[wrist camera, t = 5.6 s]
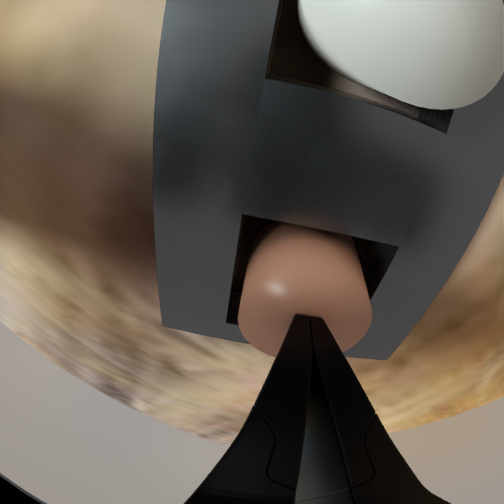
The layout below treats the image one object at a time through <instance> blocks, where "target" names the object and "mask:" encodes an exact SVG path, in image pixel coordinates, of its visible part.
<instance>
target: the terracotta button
mask: <svg viewBox="0 0 504 504" xmlns="http://www.w3.org/2000/svg"><path fill="white" fill-rule="evenodd" d="M295 314H303V315H307V316H308V317H309V316H317V317H321V318H323V319H324V321H325V323H326V324H327V326H328V328H329V330H330V331H331V333H332V335H333V336H334V338H335V340H336V342H337V343H338V345H339V347H340V349H341V351H342V352H344V351H346V350H348V349H349V348H351V347H353V346H354V345H355V344H356V343H358V342H359V341H360V340H361V339H362V338H363V337H364V335H365V334H366V333H367V331H368V329H369V327H370V325H371V321H372V308H371V304H370V300H369V296H368V292H367V288H366V284H365V280H364V276H363V272H362V268H361V264H360V261H359V257H358V254H357V250H356V247H355V243H354V241H353V239H352V237H351V236H349V235H345V234H340V233H335V232H331V231H326V230H321V229H316V228H311V227H306V226H302V225H297V224H291V223H286V222H281V221H273V222H272V223H270V224H269V225H267V226H266V227H265V228H264V229H262V230H261V231H260V232H259V234H258V235H257V236H256V238H255V239H254V241H253V243H252V245H251V249H250V253H249V258H248V264H247V269H246V275H245V280H244V285H243V291H242V296H241V302H240V307H239V313H238V325H239V328H240V331H241V333H242V335H243V336H244V338H245V339H246V340H247V341H248V342H249V343H250V344H251V345H252V346H254V347H255V348H256V349H258V350H260V351H262V352H264V353H266V354H268V355H271V356H274V357H276V356H277V354H278V352H279V349H280V347H281V345H282V342H283V340H284V338H285V336H286V333H287V331H288V329H289V326H290V324H291V322H292V319H293V317H294V315H295Z"/></svg>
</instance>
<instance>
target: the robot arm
mask: <svg viewBox="0 0 504 504" xmlns="http://www.w3.org/2000/svg"><path fill="white" fill-rule="evenodd" d="M0 504H46V503H45V502H43V501H41V500H40V499H38V498H36V497H35V496H33V495H32V494H30V493H28V492H27V491H25V490H24V489H22V488H21V487H19V486H18V485H16V484H15V483H13V482H12V481H11V480H9V479H8V478H6V477H5V476H4V475H2V474H1V473H0ZM184 504H451V503H449V502H447V501H445V500H443V499H441V498H440V497H438V496H436V495H434V494H432V493H431V492H430V491H428V490H427V489H426V488H425V487H424V486H423V485H422V484H421V482H420V481H419V480H418V478H417V477H416V476H415V474H414V473H413V471H412V470H411V468H410V467H409V465H408V464H407V462H406V461H405V460H404V458H403V457H402V455H401V454H400V452H399V451H398V449H397V448H396V446H395V445H394V443H393V442H392V440H391V438H390V437H389V435H388V433H387V432H386V430H385V428H384V426H383V425H382V423H381V421H380V419H379V417H378V415H377V414H375V410H374V408H373V406H372V404H371V403H370V401H369V399H368V397H367V395H366V393H365V392H364V390H363V388H362V386H361V384H360V383H359V381H358V379H357V377H356V375H355V374H354V372H353V370H352V368H351V366H350V365H349V363H348V361H347V359H346V358H345V356H344V354H343V352H342V351H341V349H340V347H339V345H338V343H337V342H336V340H335V338H334V336H333V335H332V333H331V331H330V330H329V328H328V326H327V324H326V323H325V321H324V319H323V318H321V317H317V316H309V317H308V316H307V315H303V314H295V315H294V317H293V319H292V322H291V324H290V326H289V329H288V331H287V333H286V336H285V338H284V340H283V342H282V345H281V347H280V349H279V352H278V354H277V356H276V358H275V361H274V363H273V365H272V367H271V369H270V372H269V374H268V376H267V378H266V380H265V382H264V385H263V387H262V389H261V391H260V393H259V395H258V397H257V399H256V401H255V404H254V406H253V407H252V409H251V411H250V413H249V415H248V418H247V419H246V421H245V423H244V425H243V427H242V428H241V430H240V432H239V434H238V435H237V437H236V438H235V440H234V441H233V443H232V444H231V445H230V447H229V449H228V450H227V451H226V453H225V454H224V455H223V457H222V458H221V459H220V460H219V462H218V463H217V464H216V466H215V467H214V468H213V469H212V471H211V472H210V473H209V474H208V476H207V477H206V478H205V480H204V481H203V482H202V483H201V484H200V486H199V487H198V488H197V489H196V490H195V491H194V493H193V494H192V495H191V496H190V497H189V498H188V500H187V501H186V502H185V503H184Z"/></svg>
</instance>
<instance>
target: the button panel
mask: <svg viewBox="0 0 504 504" xmlns="http://www.w3.org/2000/svg"><path fill="white" fill-rule="evenodd" d="M502 2H503V4H504V0H502ZM282 3H283V0H166V6H165V13H164V19H163V26H162V34H161V41H160V50H159V59H158V69H157V81H156V94H155V111H154V135H153V210H154V234H155V252H156V266H157V278H158V289H159V299H160V309H161V317H162V326H165V327H169V328H173V329H178V330H182V331H187V332H191V333H196V334H200V335H205V336H210V337H215V338H220V339H225V340H231V341H236V342H242V343H247V344H250V343H249V342H248V341H247V340H246V339H245V338H244V336H243V335H242V333H241V331H240V328H239V325H238V313H239V307H240V302H241V296H242V291H243V289H242V288H236V287H234V281H235V274H236V268H237V262H238V255H239V249H240V243H241V237H242V230H243V224H244V218H245V215H250V216H255V217H260V218H266V219H271V220H276V221H281V222H286V223H291V224H297V225H302V226H306V227H311V228H316V229H321V230H326V231H331V232H335V233H340V234H345V235H349V236H354V237H359V238H363V239H368V240H372V241H371V243H370V245H369V247H368V250H367V252H366V254H365V256H364V258H363V261H362V263H361V268H362V272H363V276H364V280H365V284H366V288H367V292H368V296H369V300H370V304H371V308H372V321H371V325H370V327H369V329H368V331H367V333H366V334H365V335H364V337H363V338H362V339H361V340H360V341H359V342H358V343H356V344H355V345H354V346H353V347H351V348H349V349H348V350H346V351H344V352H343V354H344V356H345V357H353V358H365V359H378V360H387V359H388V358H389V357H390V356H391V355H392V353H393V352H394V351H395V350H396V349H397V347H398V346H399V345H400V344H401V343H402V341H403V340H404V339H405V338H406V336H407V335H408V334H409V333H410V331H411V330H412V329H413V327H414V326H415V325H416V324H417V322H418V321H419V320H420V318H421V317H422V316H423V314H424V313H425V311H426V310H427V309H428V307H429V306H430V305H431V303H432V302H433V300H434V299H435V297H436V296H437V295H438V293H439V292H440V290H441V289H442V287H443V286H444V284H445V283H446V281H447V280H448V278H449V276H450V275H451V273H452V272H453V270H454V269H455V267H456V265H457V264H458V262H459V260H460V259H461V257H462V255H463V254H464V252H465V250H466V248H467V247H468V245H469V243H470V241H471V240H472V238H473V236H474V234H475V232H476V230H477V229H478V227H479V225H480V223H481V221H482V219H483V217H484V215H485V213H486V211H487V209H488V207H489V205H490V203H491V200H492V198H493V196H494V194H495V192H496V189H497V187H498V185H499V183H500V180H501V178H502V175H503V173H504V72H503V75H502V76H501V78H500V80H499V81H498V83H497V84H496V85H495V87H494V88H493V89H492V90H491V91H490V92H489V93H488V94H487V95H485V96H484V97H483V98H481V99H480V100H478V101H476V102H475V103H472V104H470V105H467V106H465V107H460V108H455V109H444V110H440V109H428V108H423V107H421V108H420V111H419V115H418V117H416V116H413V115H411V114H408V113H406V112H403V111H401V110H398V109H395V108H393V107H390V106H387V105H384V104H381V103H378V102H375V101H372V100H369V99H366V98H363V97H360V96H357V95H353V94H350V93H346V92H343V91H339V90H336V89H332V88H328V87H324V86H320V85H316V84H312V83H307V82H303V81H298V80H293V79H288V78H283V77H278V76H272V75H269V73H270V67H271V62H272V56H273V51H274V45H275V40H276V35H277V29H278V24H279V19H280V14H281V8H282Z"/></svg>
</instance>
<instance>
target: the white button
mask: <svg viewBox="0 0 504 504" xmlns="http://www.w3.org/2000/svg"><path fill="white" fill-rule="evenodd" d="M297 10H298V19H299V24H300V27H301V30H302V32H303V35H304V37H305V39H306V41H307V42H308V44H309V45H310V47H311V48H312V50H313V51H314V52H315V54H316V55H317V56H318V57H319V58H320V59H321V60H322V61H323V62H324V63H325V64H326V65H327V66H328V67H330V68H331V69H332V70H333V71H335V72H336V73H338V74H340V75H341V76H343V77H345V78H347V79H349V80H351V81H353V82H356V83H358V84H361V85H364V86H366V87H369V88H371V89H374V90H377V91H379V92H382V93H384V94H386V95H389V96H391V97H394V98H396V99H398V100H400V101H403V102H406V103H409V104H412V105H415V106H418V107H423V108H428V109H440V110H444V109H455V108H460V107H465V106H467V105H470V104H472V103H475V102H476V101H478V100H480V99H481V98H483V97H484V96H485V95H487V94H488V93H489V92H490V91H491V90H492V89H493V88H494V87H495V85H496V84H497V83H498V81H499V80H500V78H501V76H502V75H503V72H504V4H503V2H502V0H298V4H297Z"/></svg>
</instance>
